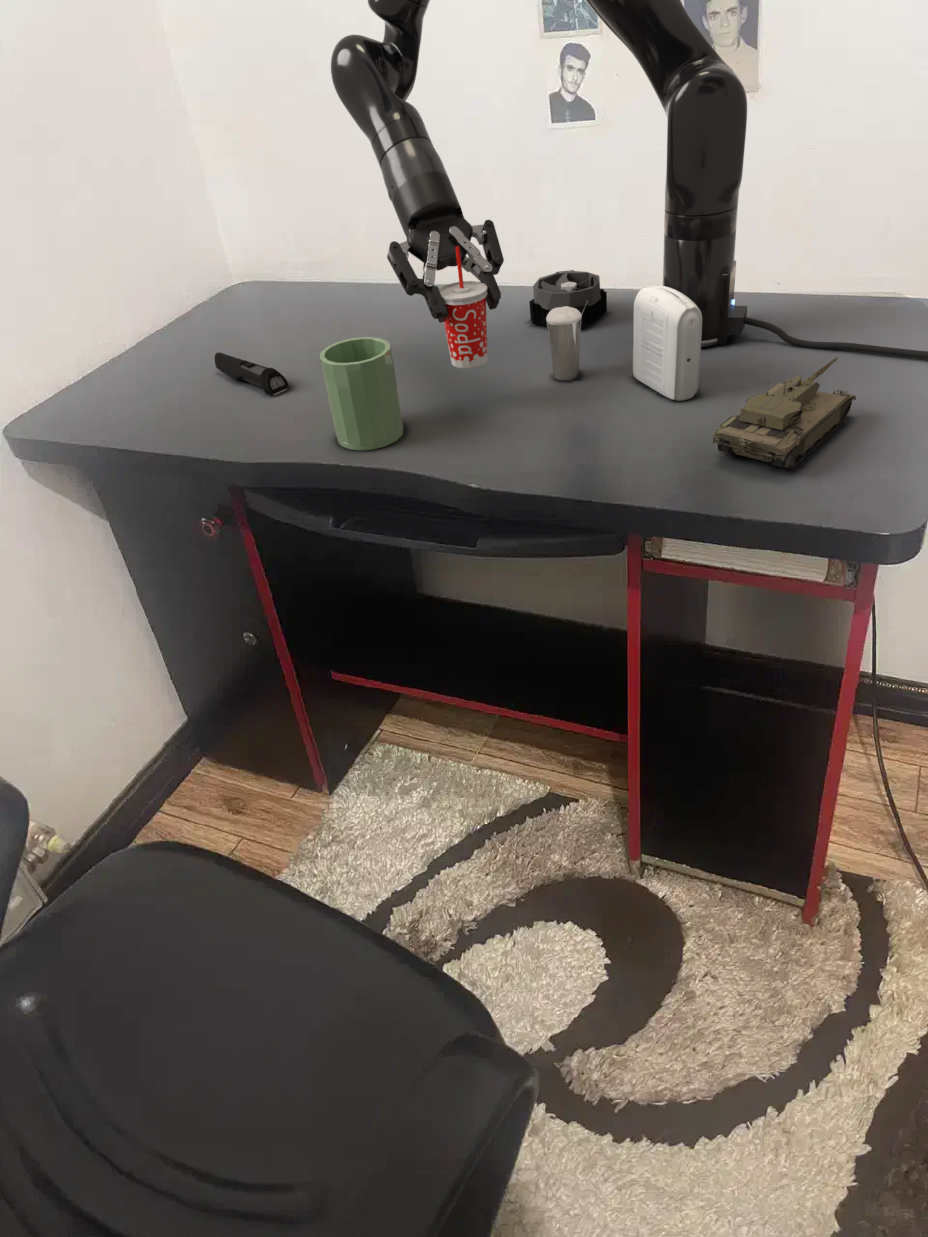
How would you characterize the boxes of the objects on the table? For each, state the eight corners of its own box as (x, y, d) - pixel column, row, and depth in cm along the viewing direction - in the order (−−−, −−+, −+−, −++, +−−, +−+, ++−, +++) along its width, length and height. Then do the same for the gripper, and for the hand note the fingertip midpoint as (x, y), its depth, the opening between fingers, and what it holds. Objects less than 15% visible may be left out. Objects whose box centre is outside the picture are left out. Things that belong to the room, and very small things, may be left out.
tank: (702, 467, 100) (707, 380, 94) (798, 390, 112) (807, 309, 106) (777, 488, 95) (787, 398, 89) (868, 404, 107) (882, 320, 101)
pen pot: (414, 422, 117) (401, 338, 110) (387, 452, 111) (371, 365, 104) (355, 418, 120) (339, 335, 113) (326, 448, 114) (307, 363, 107)
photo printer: (703, 395, 114) (709, 295, 106) (674, 404, 113) (678, 304, 105) (655, 369, 121) (657, 274, 114) (628, 378, 120) (628, 282, 113)
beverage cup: (437, 369, 115) (423, 254, 106) (456, 350, 119) (443, 238, 110) (483, 372, 112) (472, 255, 104) (500, 352, 117) (490, 238, 108)
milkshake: (587, 382, 120) (585, 307, 114) (547, 383, 122) (543, 308, 116) (590, 368, 124) (589, 294, 118) (551, 369, 125) (547, 296, 119)
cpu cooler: (579, 295, 131) (519, 288, 136) (580, 334, 134) (522, 325, 139) (614, 272, 137) (555, 266, 142) (614, 310, 140) (557, 303, 146)
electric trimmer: (233, 367, 140) (227, 346, 138) (291, 388, 130) (286, 366, 128) (212, 375, 138) (206, 355, 136) (270, 397, 128) (264, 376, 126)
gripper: (368, 181, 106) (420, 310, 105) (480, 158, 110) (531, 282, 109) (361, 220, 114) (410, 341, 112) (466, 197, 117) (514, 314, 116)
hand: (469, 311), depth 110 cm, fingers closed on beverage cup, 6 cm apart
